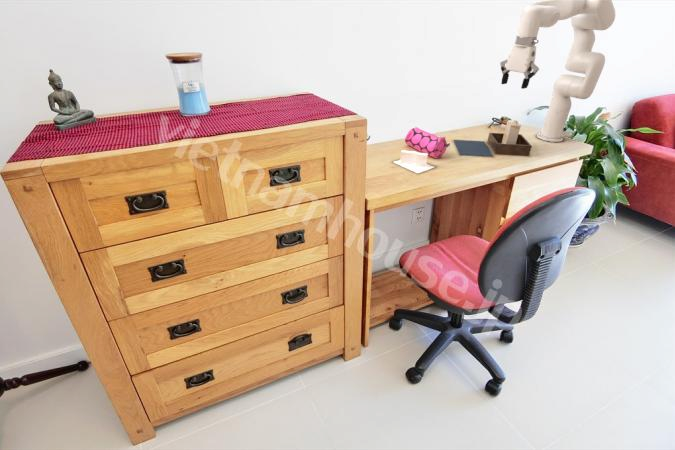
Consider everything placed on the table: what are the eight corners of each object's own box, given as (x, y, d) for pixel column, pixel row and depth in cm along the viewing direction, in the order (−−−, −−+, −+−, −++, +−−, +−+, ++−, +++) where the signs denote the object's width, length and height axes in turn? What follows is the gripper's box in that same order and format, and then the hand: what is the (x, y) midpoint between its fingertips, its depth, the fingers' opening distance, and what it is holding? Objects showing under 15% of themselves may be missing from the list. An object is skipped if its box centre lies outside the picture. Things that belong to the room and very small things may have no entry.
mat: (483, 142, 190) (483, 141, 190) (492, 156, 173) (493, 156, 173) (453, 140, 191) (454, 139, 191) (460, 155, 174) (460, 154, 174)
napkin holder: (392, 162, 166) (393, 150, 163) (409, 156, 172) (411, 144, 169) (418, 173, 156) (419, 160, 153) (435, 167, 162) (437, 154, 159)
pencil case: (448, 156, 173) (452, 135, 167) (434, 160, 168) (437, 139, 162) (415, 142, 187) (418, 123, 182) (401, 146, 182) (403, 126, 177)
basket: (518, 143, 188) (521, 134, 186) (528, 156, 174) (532, 145, 172) (487, 142, 190) (489, 132, 187) (494, 154, 176) (497, 144, 173)
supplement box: (513, 152, 178) (521, 125, 171) (503, 151, 179) (510, 124, 172) (510, 146, 185) (517, 120, 178) (500, 145, 186) (507, 119, 179)
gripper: (550, 43, 145) (537, 89, 154) (512, 39, 157) (501, 81, 166) (539, 44, 142) (526, 91, 151) (501, 39, 154) (491, 83, 163)
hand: (513, 86), depth 159 cm, fingers open, 9 cm apart
